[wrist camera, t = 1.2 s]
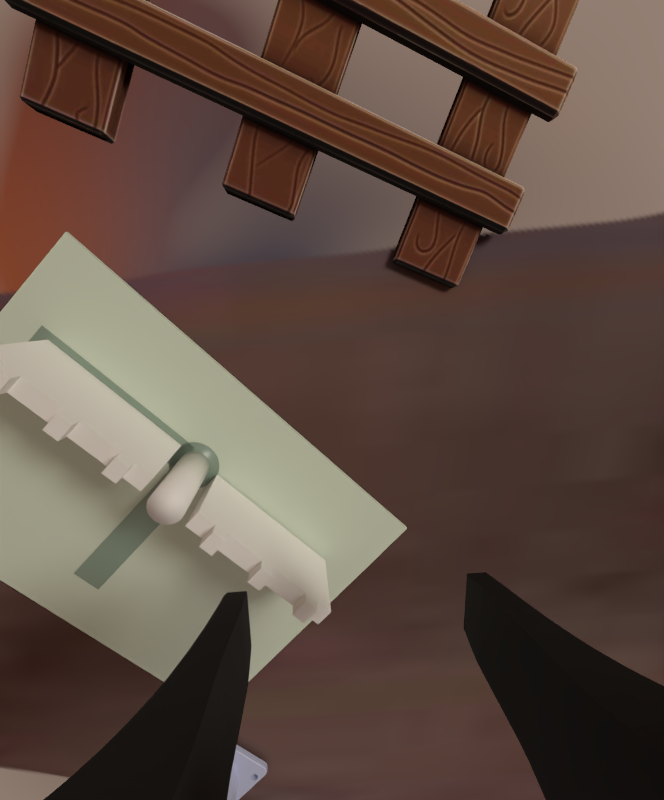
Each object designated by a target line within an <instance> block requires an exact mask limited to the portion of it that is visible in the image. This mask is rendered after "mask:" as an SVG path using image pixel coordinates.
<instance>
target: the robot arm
mask: <svg viewBox="0 0 664 800" xmlns="http://www.w3.org/2000/svg"><path fill="white" fill-rule="evenodd" d="M464 630H465V632H466V635H467V638H468V640H469V643H470V645H471V648H472V650H473V653H474V655H475V658H476V660H477V662H478V664H479V666H480V668H481V670H482V672H483V674H484V676H485V678H486V680H487V682H488V683H489V685H490V687H491V689H492V691H493V693H494V695H495V697H496V699H497V700H498V702H499V704H500V706H501V708H502V710H503V712H504V713H505V715H506V717H507V719H508V721H509V723H510V725H511V727H512V728H513V730H514V732H515V734H516V736H517V738H518V740H519V742H520V744H521V746H522V748H523V750H524V752H525V754H526V756H527V758H528V760H529V762H530V764H531V767H532V769H533V771H534V774H535V776H536V778H537V780H538V783H539V785H540V787H541V790H542V792H543V794H544V796H545V799H546V800H664V686H662V685H660V684H658V683H656V682H654V681H652V680H650V679H648V678H646V677H644V676H642V675H640V674H638V673H636V672H635V671H633V670H631V669H629V668H627V667H625V666H623V665H622V664H620V663H618V662H616V661H615V660H613V659H611V658H609V657H608V656H606V655H604V654H603V653H601V652H599V651H597V650H596V649H594V648H592V647H591V646H589V645H587V644H586V643H584V642H583V641H581V640H580V639H578V638H577V637H575V636H573V635H572V634H570V633H569V632H567V631H566V630H564V629H563V628H561V627H560V626H558V625H557V624H555V623H554V622H553V621H551V620H550V619H548V618H547V617H545V616H544V615H543V614H541V613H540V612H538V611H537V610H536V609H534V608H533V607H532V606H530V605H529V604H528V603H526V602H525V601H523V600H522V599H521V598H519V597H518V596H517V595H515V594H514V593H513V592H511V591H510V590H509V589H508V588H506V587H505V586H504V585H502V584H501V583H500V582H498V581H497V580H495V579H494V578H493V577H491V576H490V575H489V574H487V573H486V572H484V573H471V574H467V584H466V600H465V615H464ZM251 647H252V646H251V634H250V621H249V609H248V597H247V591H240V592H228V593H226V594H225V595H224V596H223V598H222V600H221V601H220V603H219V605H218V607H217V608H216V610H215V611H214V613H213V615H212V616H211V618H210V619H209V621H208V622H207V624H206V626H205V627H204V629H203V630H202V632H201V633H200V634H199V636H198V637H197V639H196V640H195V642H194V643H193V645H192V646H191V647H190V649H189V650H188V652H187V653H186V654H185V656H184V657H183V658H182V660H181V661H180V662H179V664H178V665H177V666H176V667H175V669H174V670H173V671H172V673H171V674H170V675H169V677H168V678H167V679H166V680H165V681H164V683H163V684H162V685H161V686H160V688H159V689H158V690H157V691H156V692H155V693H154V695H153V696H152V697H151V698H150V699H149V700H148V701H147V703H146V704H145V705H144V706H143V707H142V708H141V709H140V710H139V711H138V713H137V714H136V715H135V716H134V717H133V718H132V719H131V720H130V721H129V722H128V723H127V724H126V725H125V726H124V727H123V728H122V729H121V730H120V731H119V732H118V733H117V734H116V735H115V736H114V737H113V738H112V739H111V740H110V741H109V742H108V743H107V744H106V745H105V746H104V747H103V748H102V749H101V750H100V751H99V752H98V753H97V754H96V755H95V756H93V757H92V758H91V759H90V760H89V761H88V762H87V763H86V764H85V765H84V766H82V767H81V768H80V769H79V770H78V771H77V772H76V773H75V774H74V775H72V776H71V777H70V778H69V779H68V780H67V781H66V782H64V783H63V784H62V785H61V786H60V787H59V788H57V789H56V790H55V791H54V792H53V793H51V794H50V795H49V796H48V797H46V798H45V799H44V800H239V799H240V798H241V797H242V796H243V795H244V794H245V793H246V792H247V791H248V790H250V789H251V788H252V787H253V786H254V785H255V784H256V783H257V782H258V781H259V780H260V779H261V778H263V777H264V776H265V775H266V773H267V763H266V762H264V761H263V760H261V759H260V758H258V757H256V756H255V755H253V754H251V753H250V752H248V751H247V750H245V749H243V748H242V747H240V746H238V745H237V740H238V735H239V730H240V724H241V719H242V714H243V709H244V703H245V698H246V693H247V687H248V680H249V670H250V659H251Z"/></svg>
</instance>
